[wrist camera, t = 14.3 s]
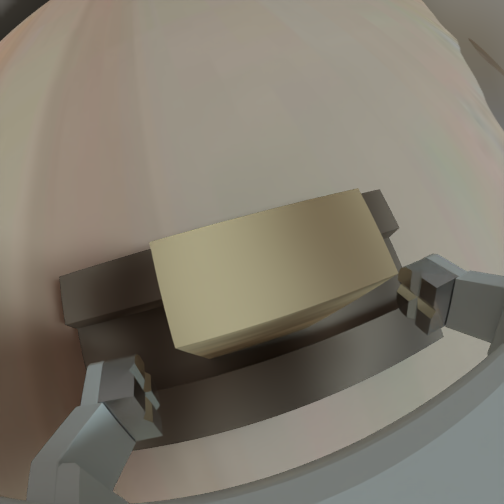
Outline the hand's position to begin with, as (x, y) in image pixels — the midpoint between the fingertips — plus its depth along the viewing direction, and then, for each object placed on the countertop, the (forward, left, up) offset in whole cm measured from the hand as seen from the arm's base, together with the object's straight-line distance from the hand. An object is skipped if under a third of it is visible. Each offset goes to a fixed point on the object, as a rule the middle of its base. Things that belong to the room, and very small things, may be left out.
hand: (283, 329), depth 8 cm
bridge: (0, +1, -9) cm, 10 cm away
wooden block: (0, +1, -8) cm, 8 cm away
